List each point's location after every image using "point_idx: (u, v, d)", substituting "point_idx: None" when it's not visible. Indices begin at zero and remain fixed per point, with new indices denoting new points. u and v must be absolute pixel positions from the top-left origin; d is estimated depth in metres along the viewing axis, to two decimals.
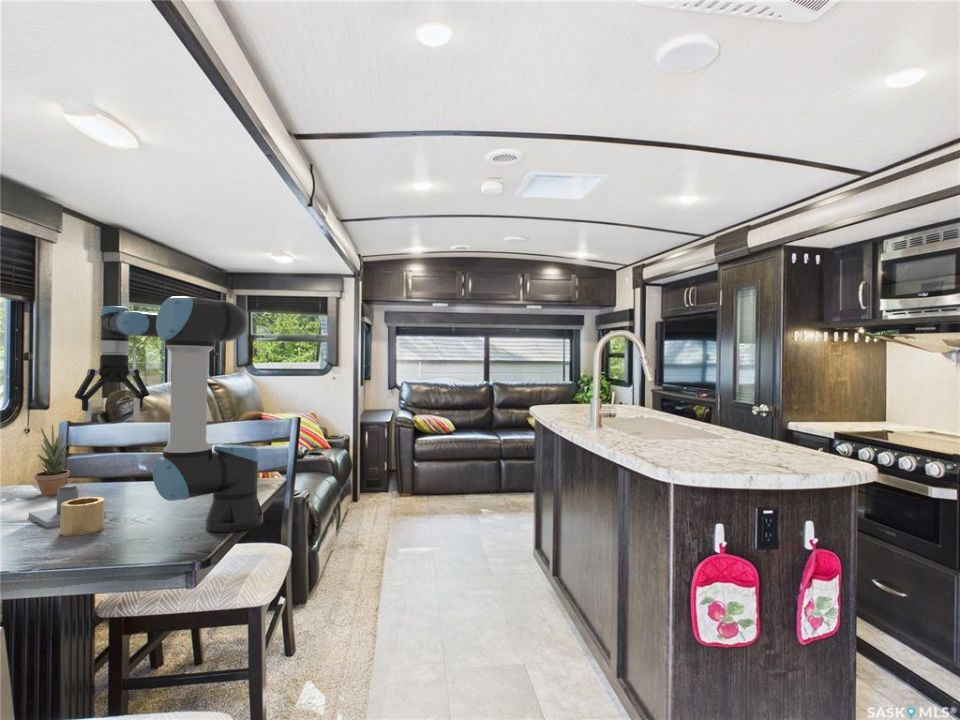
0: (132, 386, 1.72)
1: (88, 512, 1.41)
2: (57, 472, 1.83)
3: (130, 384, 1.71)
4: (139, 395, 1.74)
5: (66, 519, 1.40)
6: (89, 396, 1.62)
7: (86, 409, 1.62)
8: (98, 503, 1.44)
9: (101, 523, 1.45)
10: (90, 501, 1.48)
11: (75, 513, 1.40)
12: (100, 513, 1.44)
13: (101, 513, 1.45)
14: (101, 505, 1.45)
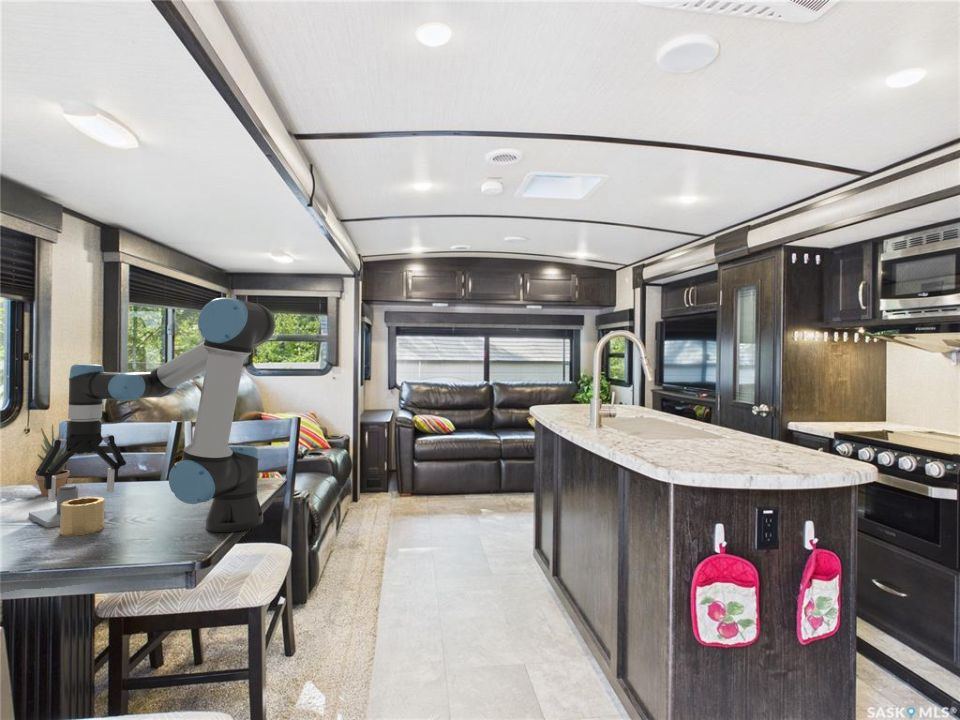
0: (106, 455, 1.48)
1: (88, 512, 1.41)
2: (57, 472, 1.83)
3: (103, 453, 1.47)
4: (114, 465, 1.50)
5: (66, 519, 1.40)
6: (53, 472, 1.38)
7: (49, 487, 1.38)
8: (98, 503, 1.44)
9: (101, 523, 1.45)
10: (90, 501, 1.48)
11: (75, 513, 1.40)
12: (100, 513, 1.44)
13: (101, 513, 1.45)
14: (101, 505, 1.45)
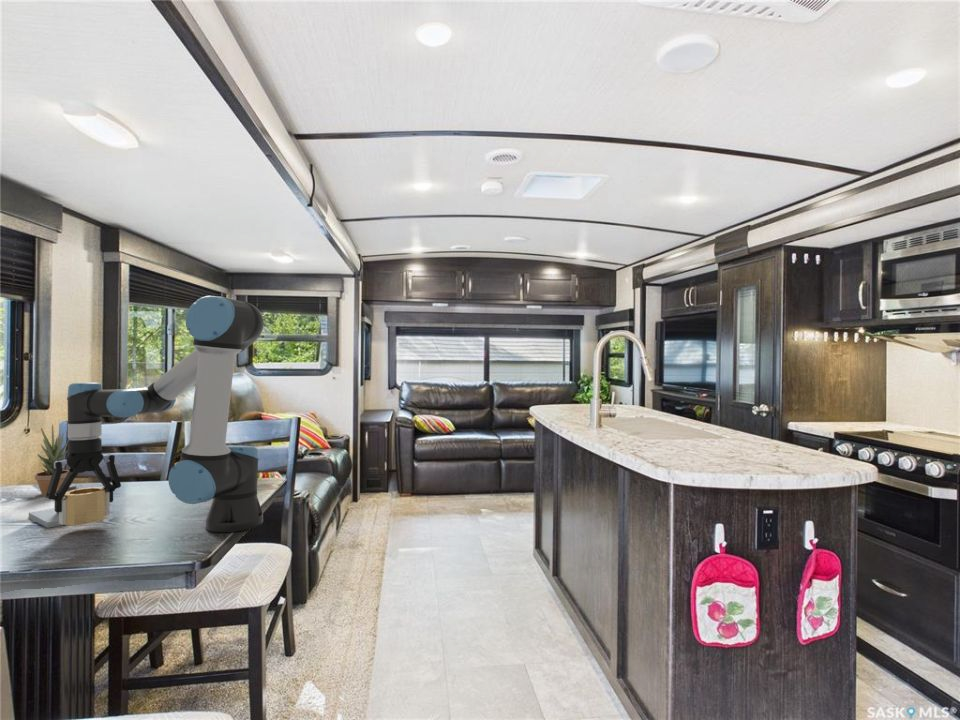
0: (103, 476, 1.47)
1: (90, 501, 1.41)
2: None
3: (101, 474, 1.47)
4: (109, 487, 1.48)
5: (68, 508, 1.40)
6: (62, 494, 1.39)
7: (60, 510, 1.39)
8: (100, 492, 1.44)
9: (103, 512, 1.45)
10: (92, 491, 1.48)
11: (77, 502, 1.40)
12: (102, 502, 1.44)
13: (103, 502, 1.45)
14: (103, 494, 1.45)
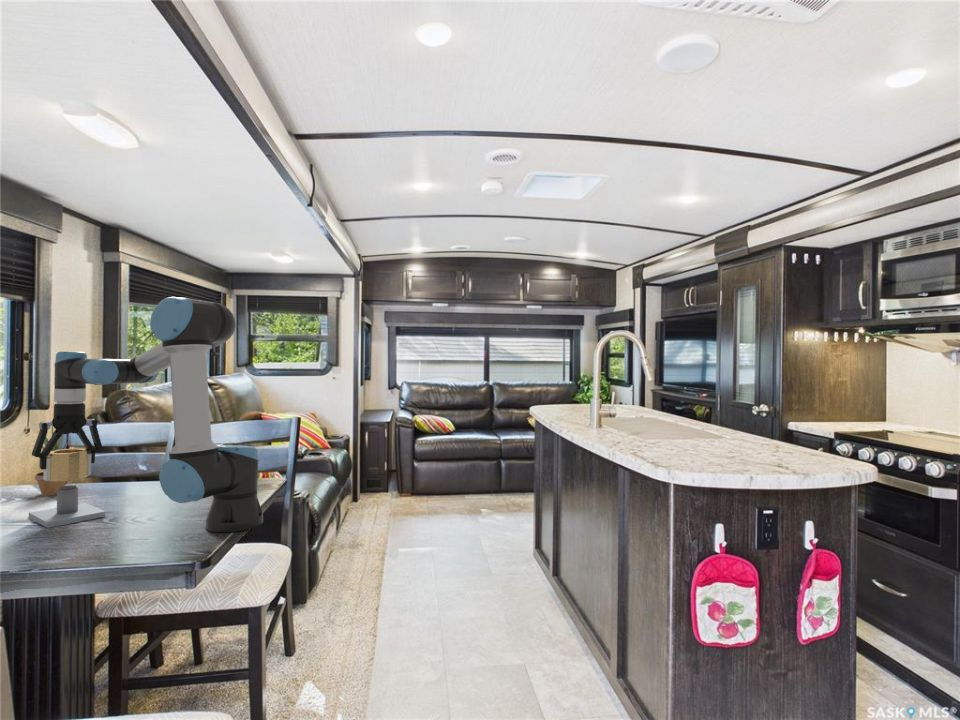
0: (86, 439, 1.59)
1: (72, 460, 1.53)
2: None
3: (84, 436, 1.59)
4: (91, 449, 1.60)
5: (52, 466, 1.52)
6: (47, 453, 1.51)
7: (44, 467, 1.51)
8: (82, 453, 1.56)
9: (85, 471, 1.57)
10: (75, 452, 1.60)
11: (60, 460, 1.52)
12: (84, 462, 1.56)
13: (85, 462, 1.57)
14: (85, 455, 1.57)
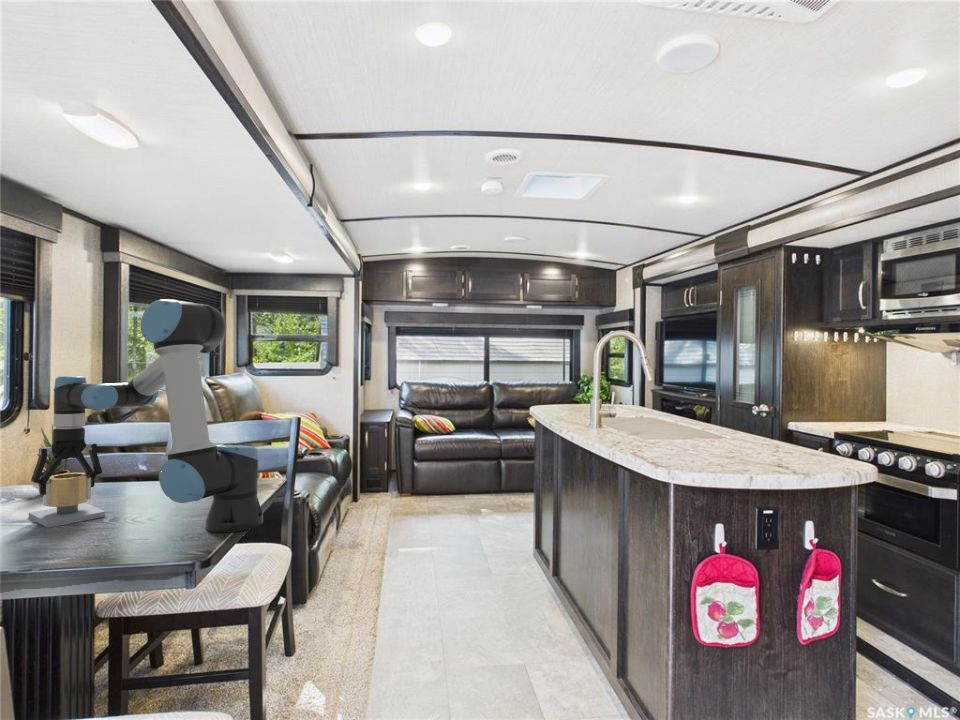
0: (85, 463, 1.59)
1: (72, 485, 1.53)
2: (57, 472, 1.83)
3: (84, 460, 1.58)
4: (91, 473, 1.60)
5: (52, 491, 1.52)
6: (47, 478, 1.51)
7: (44, 493, 1.51)
8: (82, 477, 1.56)
9: (84, 496, 1.57)
10: (75, 476, 1.60)
11: (60, 486, 1.52)
12: (84, 487, 1.56)
13: (84, 487, 1.57)
14: (84, 479, 1.57)
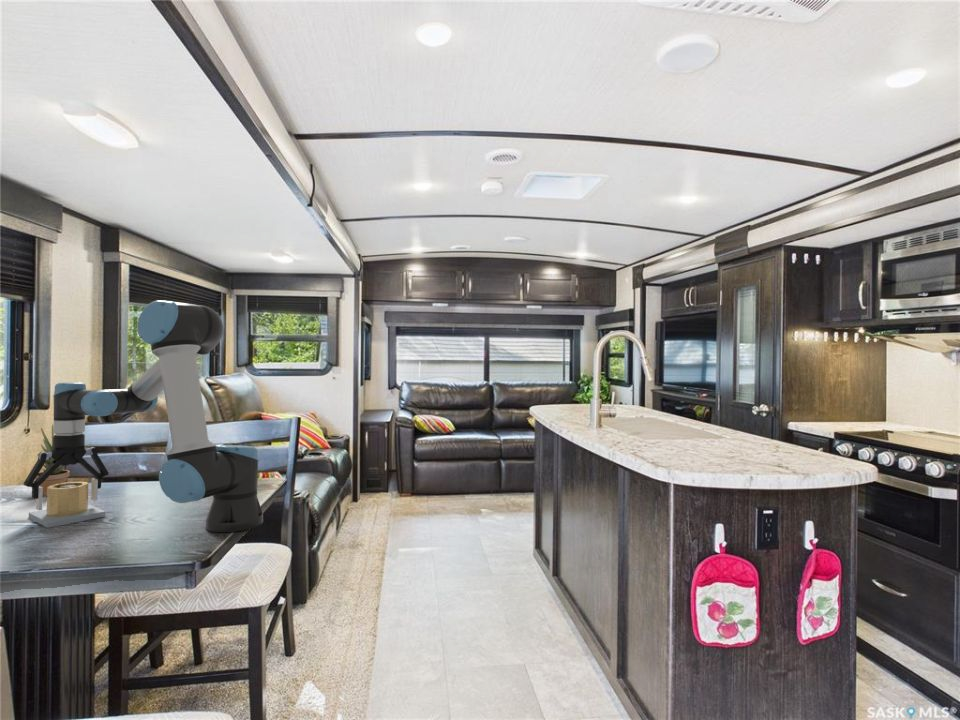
0: (89, 466, 1.60)
1: (72, 495, 1.53)
2: (57, 472, 1.83)
3: (87, 465, 1.59)
4: (97, 475, 1.61)
5: (52, 501, 1.51)
6: (40, 483, 1.50)
7: (36, 497, 1.50)
8: (82, 487, 1.56)
9: (85, 505, 1.57)
10: None
11: (60, 495, 1.52)
12: (84, 496, 1.56)
13: (85, 496, 1.57)
14: (85, 489, 1.57)
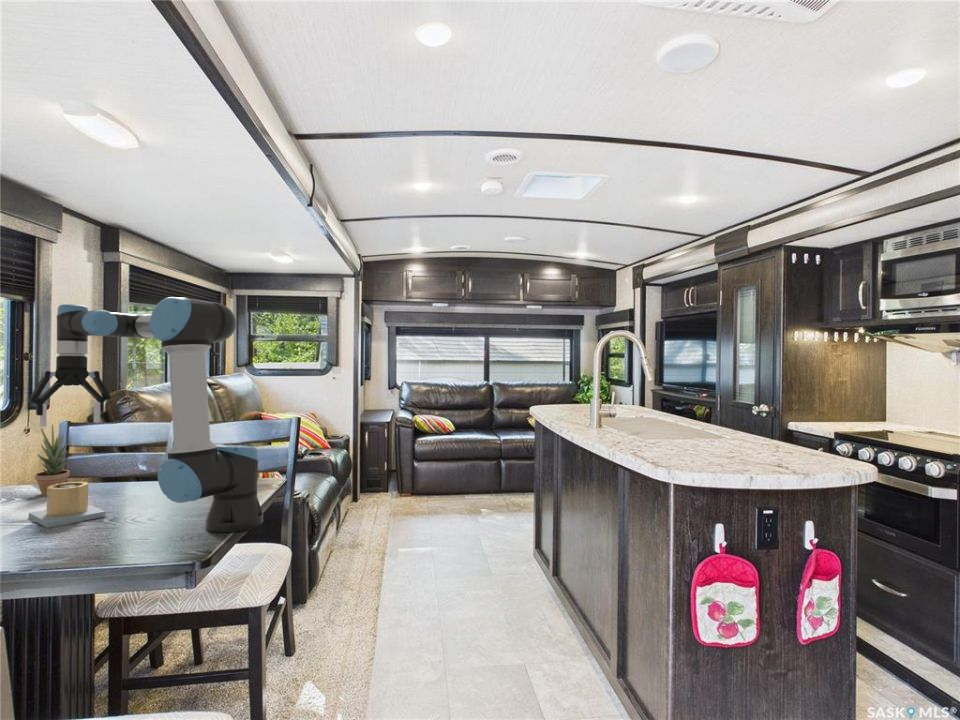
0: (92, 389, 1.63)
1: (72, 495, 1.53)
2: (57, 472, 1.83)
3: (89, 387, 1.62)
4: (99, 398, 1.65)
5: (52, 501, 1.51)
6: (44, 400, 1.53)
7: (41, 413, 1.53)
8: (82, 487, 1.56)
9: (85, 505, 1.57)
10: None
11: (60, 495, 1.52)
12: (84, 496, 1.56)
13: (85, 496, 1.57)
14: (85, 489, 1.57)
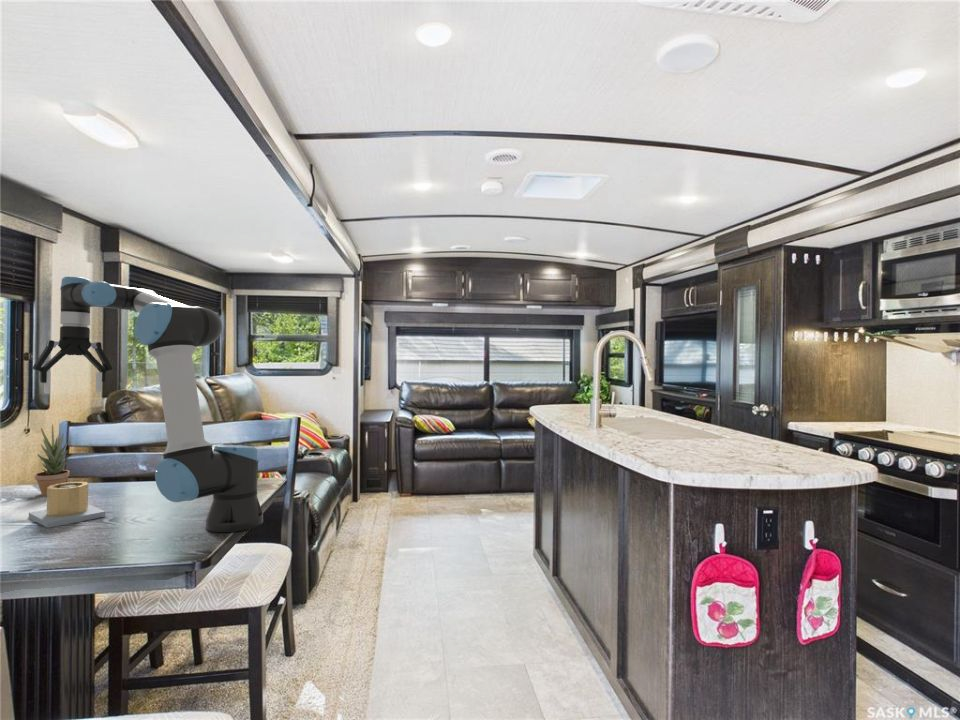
0: (94, 359, 1.69)
1: (72, 495, 1.53)
2: (57, 472, 1.83)
3: (92, 357, 1.68)
4: (101, 369, 1.71)
5: (52, 501, 1.51)
6: (48, 368, 1.59)
7: (44, 381, 1.59)
8: (82, 487, 1.56)
9: (85, 505, 1.57)
10: None
11: (60, 495, 1.52)
12: (84, 496, 1.56)
13: (85, 496, 1.57)
14: (85, 489, 1.57)
